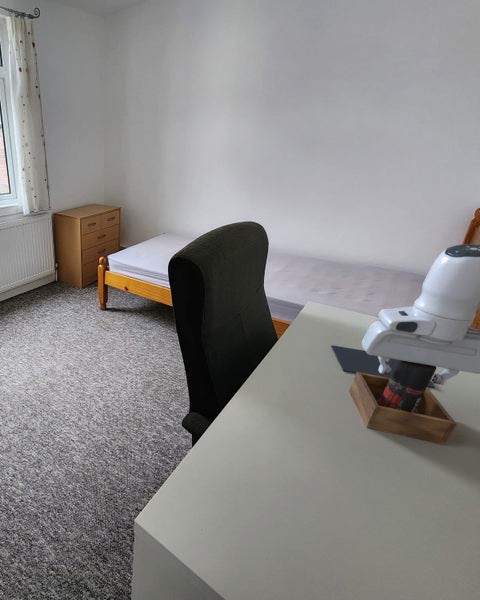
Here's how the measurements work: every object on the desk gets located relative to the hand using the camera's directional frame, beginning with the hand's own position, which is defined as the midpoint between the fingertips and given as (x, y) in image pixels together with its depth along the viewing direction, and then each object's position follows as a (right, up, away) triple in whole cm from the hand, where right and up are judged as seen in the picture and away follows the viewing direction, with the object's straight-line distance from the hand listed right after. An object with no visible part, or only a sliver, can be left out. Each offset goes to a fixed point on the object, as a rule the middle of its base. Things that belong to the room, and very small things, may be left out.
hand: (409, 377), depth 75 cm
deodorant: (0, -10, +5) cm, 11 cm away
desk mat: (+13, -2, +22) cm, 26 cm away
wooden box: (0, -10, +5) cm, 11 cm away
